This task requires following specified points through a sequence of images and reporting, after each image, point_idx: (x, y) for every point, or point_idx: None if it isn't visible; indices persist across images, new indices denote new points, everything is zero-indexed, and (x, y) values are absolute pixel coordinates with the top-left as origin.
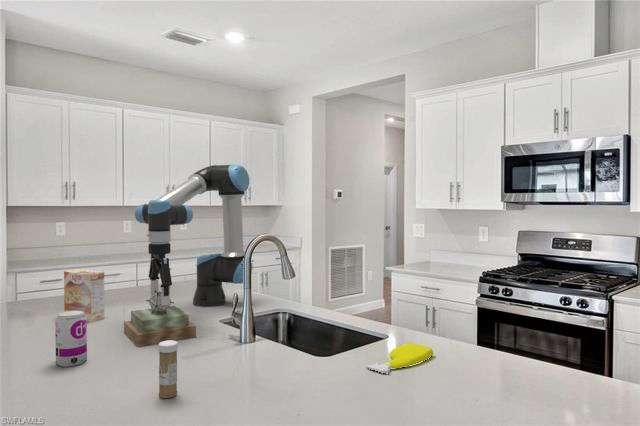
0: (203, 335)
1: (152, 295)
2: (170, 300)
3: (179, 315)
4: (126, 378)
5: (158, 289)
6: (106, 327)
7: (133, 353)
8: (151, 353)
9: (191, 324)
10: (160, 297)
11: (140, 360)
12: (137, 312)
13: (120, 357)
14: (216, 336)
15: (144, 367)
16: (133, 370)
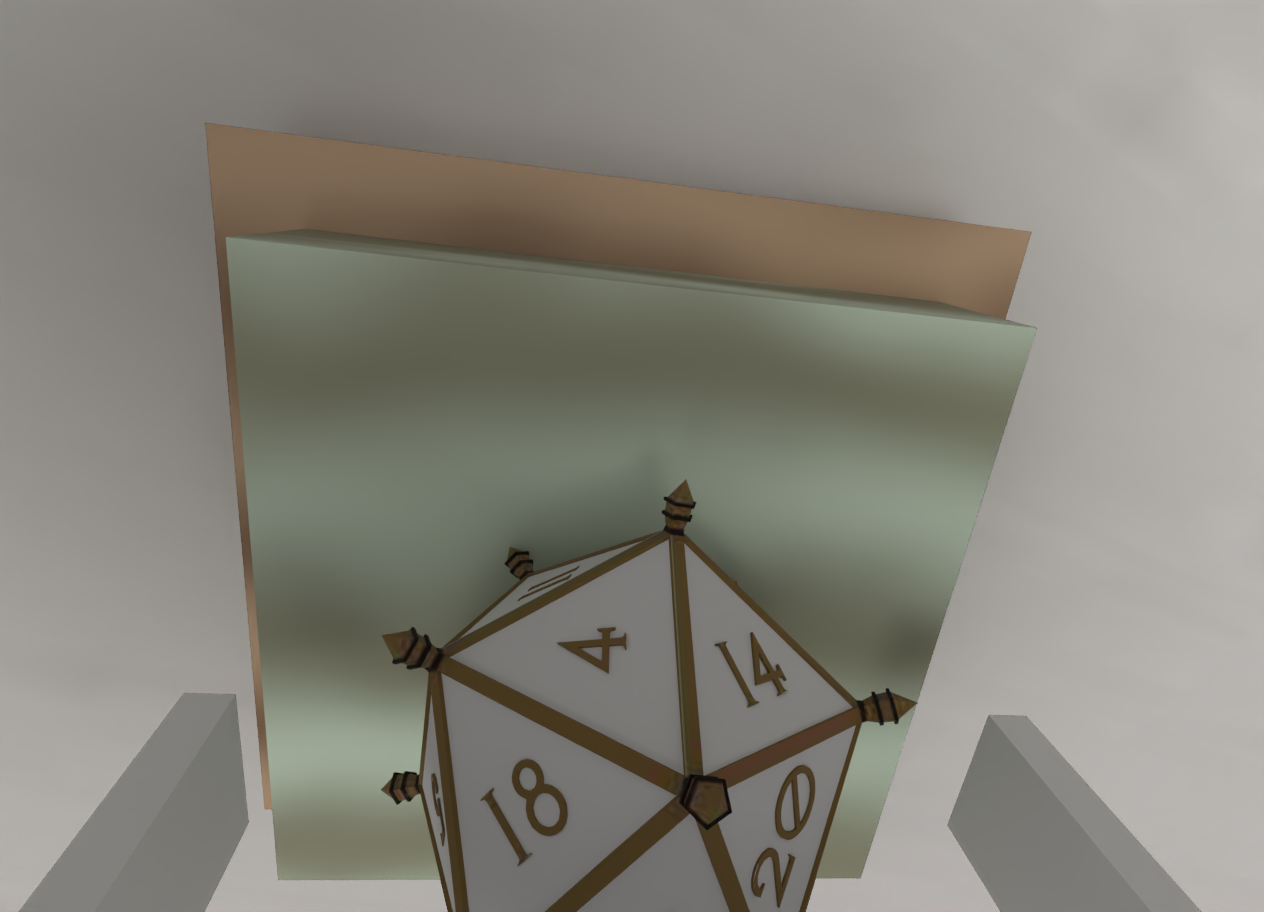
0: (959, 122)
1: (221, 855)
2: (713, 596)
3: (975, 469)
4: (1261, 888)
5: (123, 872)
6: (22, 798)
7: (926, 784)
8: (1026, 698)
9: (925, 250)
10: (802, 889)
11: (1088, 782)
12: (408, 838)
13: (935, 854)
14: (1111, 9)
15: (1212, 793)
16: (1197, 844)
